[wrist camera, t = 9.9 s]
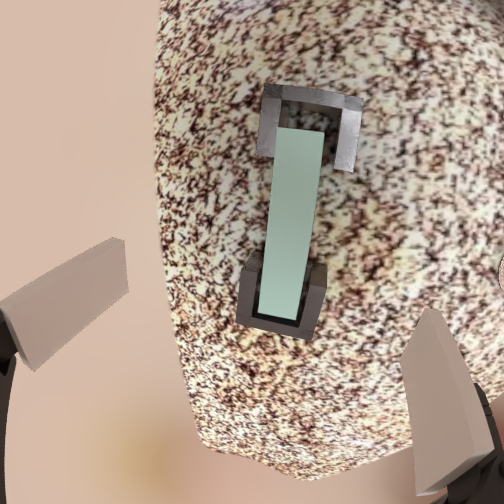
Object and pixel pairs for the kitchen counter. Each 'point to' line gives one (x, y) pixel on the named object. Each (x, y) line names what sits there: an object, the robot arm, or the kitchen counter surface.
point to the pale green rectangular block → (290, 219)
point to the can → (501, 274)
